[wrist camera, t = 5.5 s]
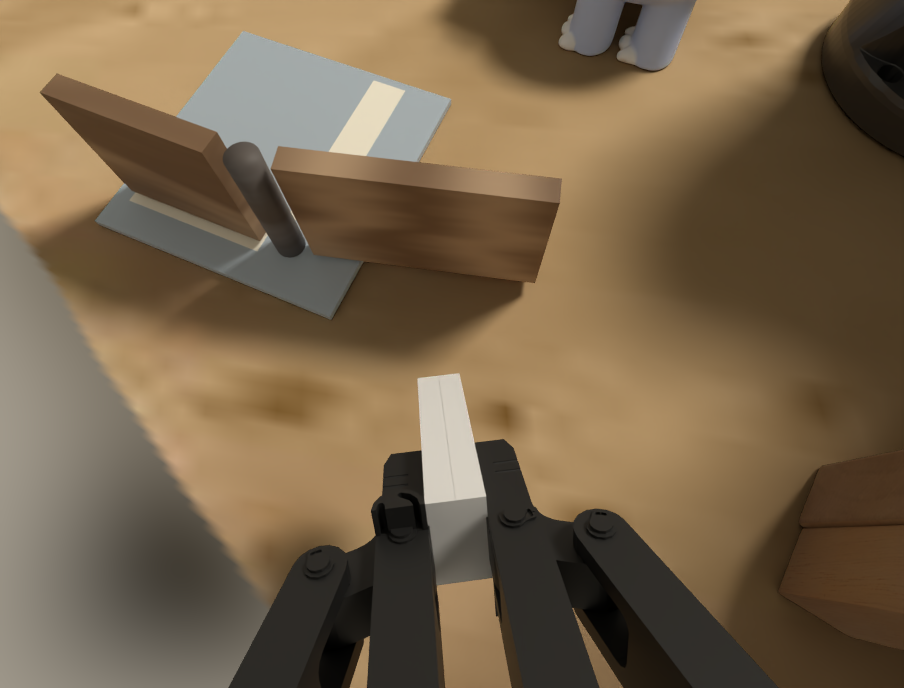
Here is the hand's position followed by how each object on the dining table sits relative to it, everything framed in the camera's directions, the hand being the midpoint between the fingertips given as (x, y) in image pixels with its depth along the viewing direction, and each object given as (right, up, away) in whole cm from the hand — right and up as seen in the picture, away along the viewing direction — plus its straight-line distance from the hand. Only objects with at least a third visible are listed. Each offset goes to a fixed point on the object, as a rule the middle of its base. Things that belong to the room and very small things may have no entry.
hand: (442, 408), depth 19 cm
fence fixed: (-13, +9, +11) cm, 19 cm away
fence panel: (-1, +7, +9) cm, 11 cm away
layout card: (-10, +13, +12) cm, 21 cm away
